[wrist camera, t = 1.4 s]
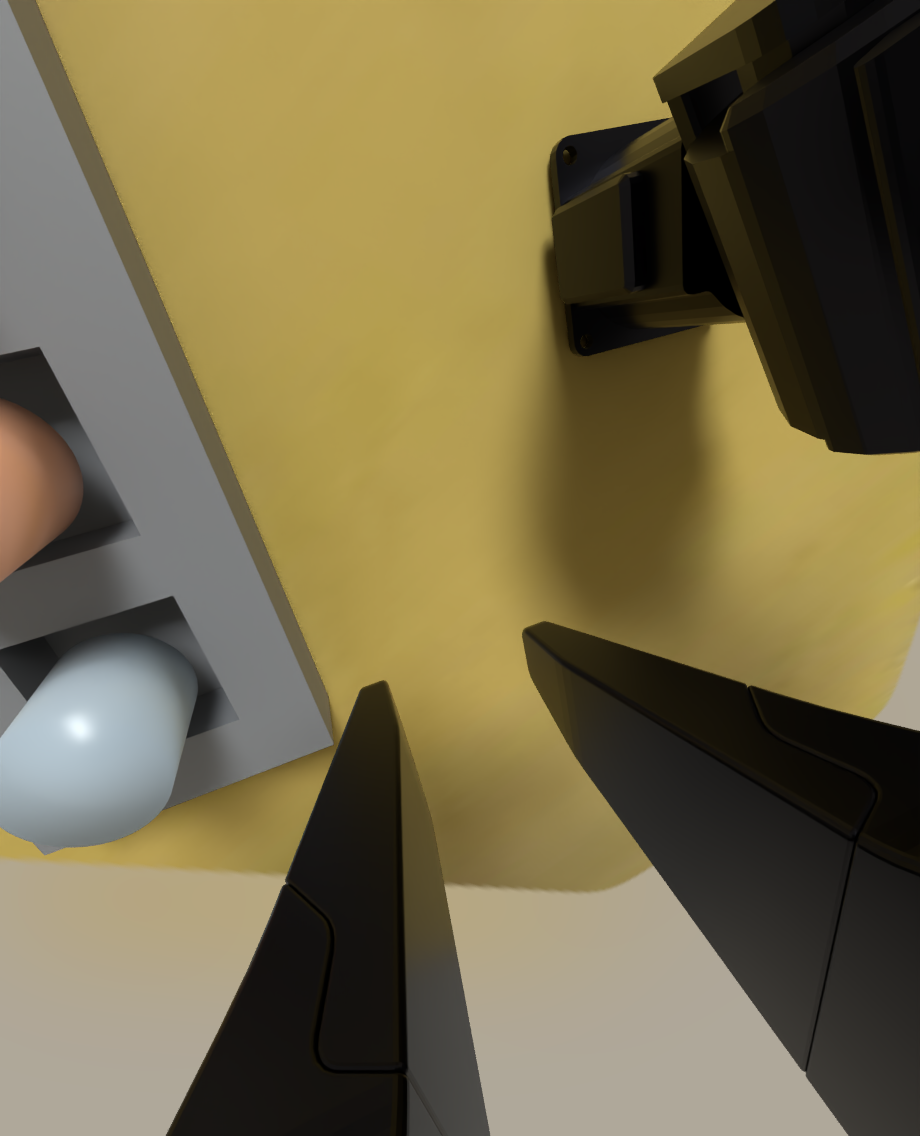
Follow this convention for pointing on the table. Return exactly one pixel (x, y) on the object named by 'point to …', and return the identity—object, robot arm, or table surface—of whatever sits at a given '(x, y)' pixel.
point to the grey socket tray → (128, 453)
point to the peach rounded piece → (33, 486)
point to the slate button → (97, 742)
